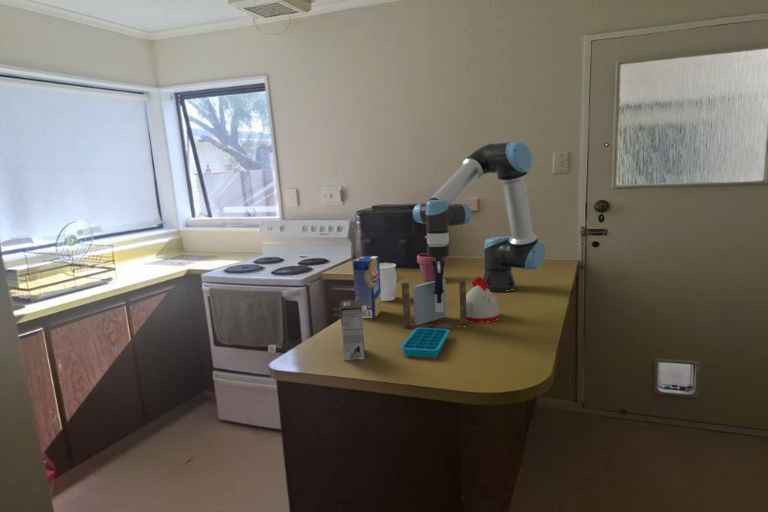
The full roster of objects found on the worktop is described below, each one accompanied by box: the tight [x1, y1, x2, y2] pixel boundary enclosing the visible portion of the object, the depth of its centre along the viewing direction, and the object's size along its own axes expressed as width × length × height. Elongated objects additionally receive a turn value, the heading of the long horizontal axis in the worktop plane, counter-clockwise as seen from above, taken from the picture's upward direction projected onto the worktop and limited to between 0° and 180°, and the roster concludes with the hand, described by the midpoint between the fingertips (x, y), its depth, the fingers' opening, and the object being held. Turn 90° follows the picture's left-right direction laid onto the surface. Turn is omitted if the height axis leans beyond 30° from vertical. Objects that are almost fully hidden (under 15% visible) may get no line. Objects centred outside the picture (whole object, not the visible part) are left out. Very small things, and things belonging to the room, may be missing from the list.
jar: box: [379, 262, 398, 302], centre depth 217 cm, size 11×10×15 cm
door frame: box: [401, 279, 468, 330], centre depth 176 cm, size 22×4×16 cm, turn 86°
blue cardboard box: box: [352, 255, 383, 319], centre depth 194 cm, size 7×11×22 cm, turn 164°
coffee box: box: [339, 299, 365, 361], centre depth 153 cm, size 9×6×16 cm
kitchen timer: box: [466, 276, 500, 323], centre depth 185 cm, size 14×14×15 cm
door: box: [412, 278, 447, 325], centre depth 183 cm, size 15×3×14 cm, turn 130°
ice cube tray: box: [399, 328, 451, 359], centre depth 158 cm, size 12×20×3 cm, turn 162°
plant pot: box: [416, 252, 447, 283], centre depth 249 cm, size 14×14×13 cm
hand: (439, 311), depth 179 cm, fingers closed
